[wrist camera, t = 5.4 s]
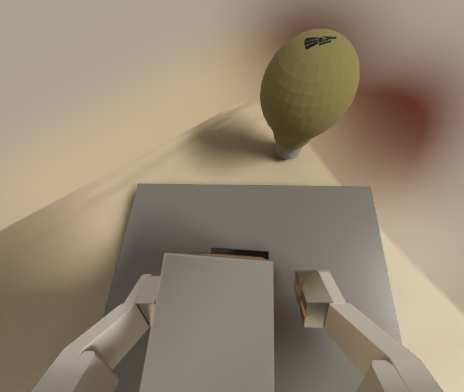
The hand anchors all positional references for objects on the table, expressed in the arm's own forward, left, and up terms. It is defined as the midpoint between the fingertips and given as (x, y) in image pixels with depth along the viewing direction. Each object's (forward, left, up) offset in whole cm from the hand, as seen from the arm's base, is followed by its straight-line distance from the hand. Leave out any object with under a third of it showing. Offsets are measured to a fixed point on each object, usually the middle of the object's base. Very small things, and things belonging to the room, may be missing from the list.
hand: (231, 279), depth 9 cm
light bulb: (+4, +11, -6) cm, 14 cm away
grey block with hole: (0, -1, -6) cm, 6 cm away
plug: (0, -1, -5) cm, 5 cm away
